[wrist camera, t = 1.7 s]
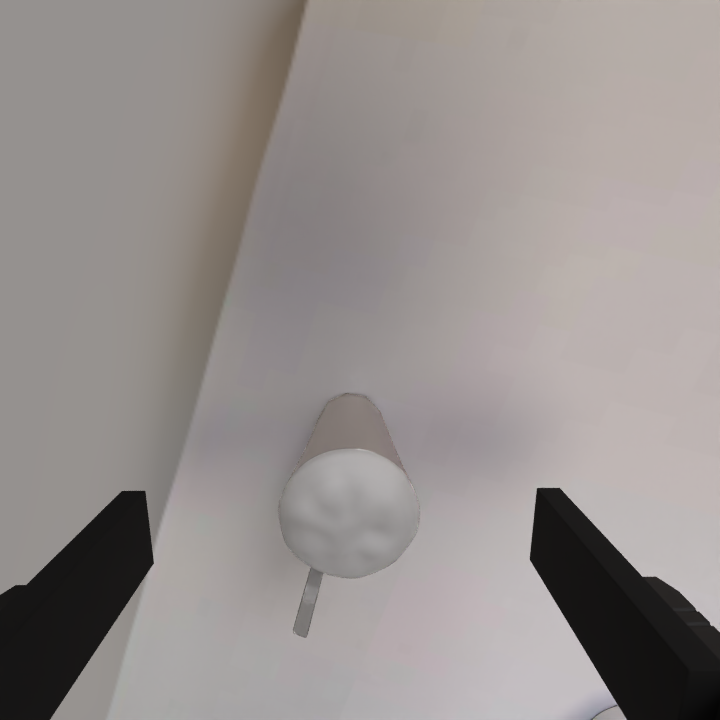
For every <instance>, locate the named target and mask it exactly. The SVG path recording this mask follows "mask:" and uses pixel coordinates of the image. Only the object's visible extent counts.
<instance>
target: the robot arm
mask: <svg viewBox="0 0 720 720" xmlns="http://www.w3.org/2000/svg"><path fill="white" fill-rule="evenodd" d="M530 561H531V562H532V564H533V566H534V567H535V569H536V570H537V572H538V574H539V575H540V577H541V579H542V580H543V582H544V584H545V585H546V587H547V589H548V590H549V592H550V594H551V595H552V597H553V599H554V600H555V602H556V604H557V605H558V607H559V608H560V610H561V612H562V613H563V615H564V617H565V618H566V620H567V622H568V623H569V625H570V627H571V628H572V630H573V632H574V633H575V635H576V637H577V638H578V640H579V641H580V643H581V645H582V646H583V648H584V650H585V651H586V653H587V655H588V656H589V658H590V660H591V661H592V663H593V665H594V666H595V668H596V670H597V671H598V673H599V675H600V676H601V678H602V679H603V681H604V683H605V684H606V686H607V688H608V689H609V691H610V693H611V694H612V696H613V698H614V699H615V701H616V703H617V704H618V706H619V708H620V709H621V711H622V712H623V714H624V716H625V717H626V719H627V720H720V632H719V631H718V630H717V629H716V628H715V627H714V626H711V625H710V622H709V621H708V620H707V619H706V618H705V617H704V616H703V615H702V614H701V613H700V612H697V611H696V610H695V607H694V606H693V605H692V604H691V603H690V602H689V601H688V600H687V599H686V598H685V597H684V596H683V595H682V594H681V593H680V592H679V591H677V590H676V589H674V588H673V587H671V586H670V585H668V584H666V583H665V582H663V581H662V580H660V579H659V578H657V577H642V576H641V575H640V574H639V573H638V571H637V570H636V569H635V568H634V567H633V566H632V565H631V564H630V563H629V562H628V561H627V560H626V559H625V558H624V556H623V555H622V554H621V553H620V552H619V551H618V550H617V549H616V548H615V547H614V546H613V545H612V544H611V543H610V541H609V540H608V539H607V538H606V537H605V536H604V535H603V534H602V533H601V532H600V531H599V530H598V529H597V528H596V526H595V525H594V524H593V523H592V522H591V521H590V520H589V519H588V518H587V517H586V516H585V515H584V514H583V513H582V511H581V510H580V509H579V508H578V507H577V506H576V505H575V504H574V503H573V502H572V501H571V500H570V499H569V498H568V496H567V495H566V494H565V493H564V492H563V491H562V490H561V489H560V488H537V494H536V504H535V513H534V523H533V533H532V543H531V552H530ZM153 564H154V561H153V552H152V544H151V535H150V528H149V518H148V510H147V501H146V493H145V491H122V492H121V493H120V494H119V495H118V496H116V498H114V500H112V501H111V502H110V503H109V504H108V505H107V506H106V507H105V508H104V509H103V510H102V511H101V512H100V513H99V514H98V515H97V516H96V517H95V518H94V519H93V520H92V521H91V522H90V523H89V524H88V525H87V526H86V527H85V528H84V529H83V530H82V531H81V532H80V533H79V534H78V535H77V536H76V537H75V538H74V539H73V540H72V541H71V542H70V543H69V544H68V545H67V546H66V547H65V548H64V549H63V550H62V551H61V552H59V553H58V554H57V555H56V556H55V557H54V558H53V559H52V560H51V561H50V562H49V563H48V564H47V565H46V566H45V567H44V568H43V569H42V570H41V571H40V572H39V573H38V574H37V575H36V576H35V577H34V578H33V579H32V580H31V581H30V582H29V583H28V584H27V585H15V586H14V587H12V588H11V589H9V590H7V591H6V592H4V593H3V594H1V595H0V720H50V719H51V717H52V716H53V714H54V713H55V711H56V709H57V708H58V707H59V705H60V704H61V702H62V701H63V699H64V698H65V696H66V695H67V693H68V692H69V690H70V689H71V687H72V685H73V684H74V682H75V681H76V679H77V678H78V676H79V675H80V673H81V672H82V671H83V669H84V667H85V666H86V664H87V663H88V661H89V660H90V658H91V657H92V655H93V654H94V652H95V651H96V649H97V648H98V646H99V645H100V643H101V642H102V640H103V639H104V637H105V636H106V634H107V633H108V631H109V630H110V628H111V626H112V625H113V624H114V622H115V621H116V619H117V618H118V616H119V615H120V613H121V612H122V610H123V609H124V607H125V606H126V604H127V603H128V601H129V600H130V598H131V597H132V595H133V594H134V592H135V591H136V589H137V588H138V586H139V585H140V583H141V582H142V580H143V579H144V577H145V576H146V574H147V573H148V571H149V570H150V568H151V567H152V565H153Z"/></svg>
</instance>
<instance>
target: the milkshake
mask: <svg viewBox="0 0 720 720" xmlns="http://www.w3.org/2000/svg"><path fill="white" fill-rule="evenodd" d="M419 519H420V507H419V502H418V498H417V495H416V493H415V490H414V488H413V486H412V484H411V481H410V479H409V477H408V475H407V473H406V471H405V469H404V467H403V465H402V462H401V460H400V458H399V456H398V454H397V452H396V449H395V446H394V444H393V441H392V439H391V436H390V434H389V431H388V429H387V426H386V424H385V421H384V419H383V416H382V414H381V412H380V410H379V409H378V408H377V407H376V406H375V405H374V404H373V403H372V402H371V401H370V400H369V399H368V398H367V397H366V396H360V395H354V394H349V393H345V394H343V395H341V396H339V397H337V398H334V399H332V400H330V401H328V402H327V404H326V406H325V408H324V409H323V411H322V413H321V415H320V416H319V418H318V420H317V422H316V425H315V427H314V429H313V432H312V434H311V436H310V439H309V441H308V444H307V446H306V448H305V450H304V452H303V454H302V455H301V457H300V459H299V461H298V463H297V465H296V467H295V469H294V471H293V473H292V475H291V477H290V479H289V481H288V483H287V484H286V486H285V488H284V490H283V493H282V495H281V498H280V502H279V520H280V525H281V530H282V534H283V537H284V540H285V542H286V544H287V546H288V548H289V549H290V550H291V552H292V553H293V554H294V555H295V556H296V557H297V558H299V559H300V560H301V561H303V562H304V563H305V564H307V565H308V566H310V567H311V568H310V572H309V575H308V579H307V582H306V586H305V589H304V593H303V596H302V600H301V603H300V607H299V610H298V614H297V617H296V621H295V625H294V628H293V633H294V634H297V635H299V636H301V637H304V638H306V637H307V634H308V631H309V627H310V623H311V619H312V615H313V611H314V608H315V604H316V600H317V596H318V592H319V588H320V584H321V580H322V576H323V573H325V574H328V575H332V576H336V577H342V578H360V577H364V576H367V575H370V574H373V573H376V572H378V571H380V570H382V569H384V568H386V567H388V566H389V565H391V564H392V563H394V562H395V561H396V560H397V559H398V558H399V557H400V556H401V555H402V553H403V552H404V551H405V550H406V548H407V547H408V546H409V544H410V543H411V541H412V540H413V538H414V536H415V534H416V532H417V529H418V525H419Z"/></svg>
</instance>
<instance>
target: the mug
mask: <svg viewBox="0 0 720 720" xmlns="http://www.w3.org/2000/svg"><path fill="white" fill-rule="evenodd" d="M593 720H627V719H626V717H625V716H624V714H623V712H622V711H621V709H620V708H619V706H616V707H613V708H610V709H607V710H605V711H603V712H601V713H600V714H598V715H597V716H596V717H595V718H594V719H593Z"/></svg>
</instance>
